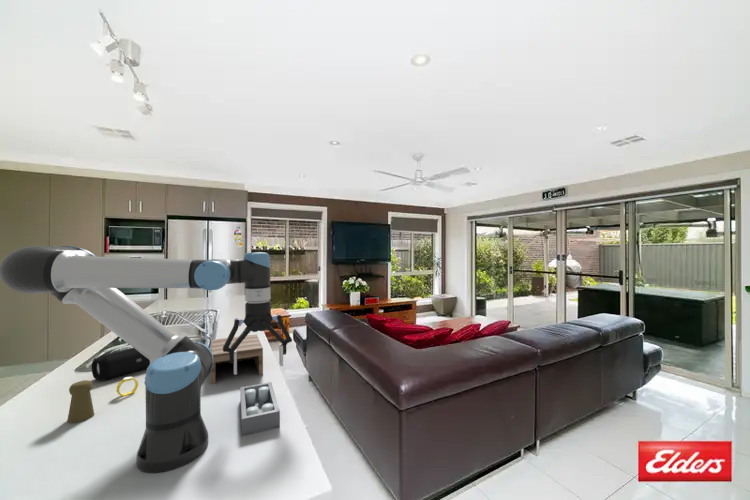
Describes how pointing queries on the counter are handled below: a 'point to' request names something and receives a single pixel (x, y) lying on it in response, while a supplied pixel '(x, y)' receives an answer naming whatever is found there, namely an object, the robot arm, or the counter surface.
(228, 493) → the counter surface
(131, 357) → the portable speaker
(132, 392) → the watch
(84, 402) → the cork
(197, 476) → the counter surface
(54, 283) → the robot arm
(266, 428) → the tray
